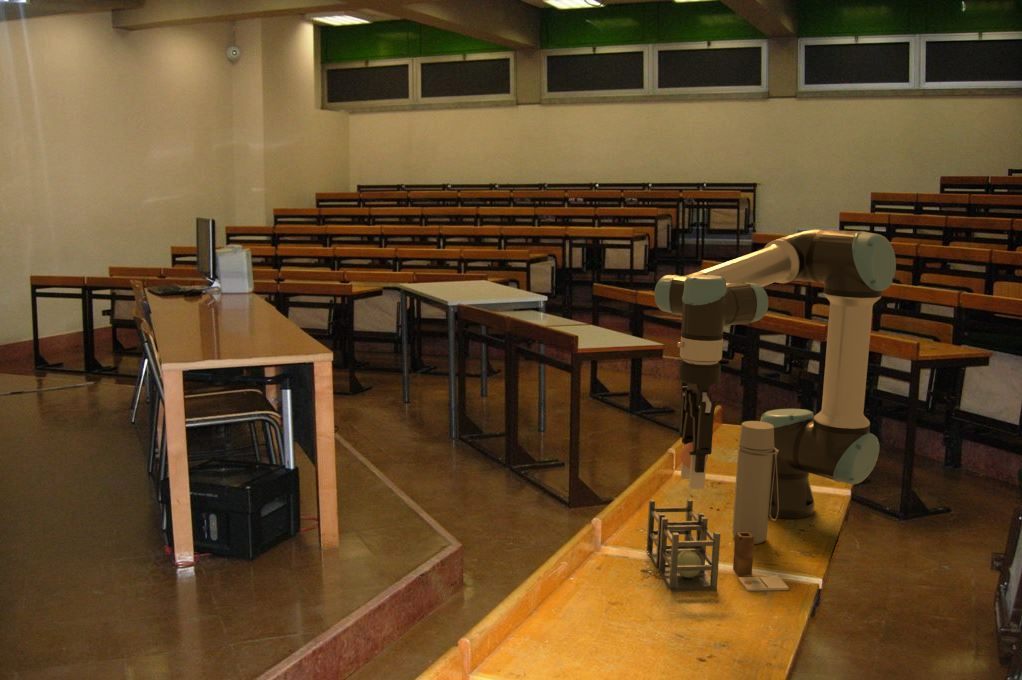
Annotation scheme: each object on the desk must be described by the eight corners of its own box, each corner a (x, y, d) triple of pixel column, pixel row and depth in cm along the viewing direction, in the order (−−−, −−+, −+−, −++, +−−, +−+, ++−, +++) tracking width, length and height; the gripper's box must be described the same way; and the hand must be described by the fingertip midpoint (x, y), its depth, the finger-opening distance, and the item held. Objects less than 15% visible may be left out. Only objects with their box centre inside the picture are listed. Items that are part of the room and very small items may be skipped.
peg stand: (746, 568, 192) (749, 531, 190) (751, 574, 189) (754, 537, 188) (732, 568, 192) (735, 532, 190) (737, 574, 189) (740, 537, 187)
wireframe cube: (688, 550, 200) (691, 499, 198) (701, 567, 192) (704, 514, 190) (646, 551, 199) (649, 499, 197) (657, 568, 191) (660, 515, 189)
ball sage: (696, 570, 188) (697, 546, 187) (704, 581, 183) (705, 556, 182) (671, 571, 188) (672, 546, 187) (678, 582, 183) (679, 557, 182)
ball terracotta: (702, 464, 184) (703, 438, 183) (710, 472, 179) (712, 446, 179) (676, 464, 184) (677, 438, 183) (683, 472, 179) (685, 446, 178)
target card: (778, 578, 188) (778, 576, 187) (788, 589, 183) (788, 587, 183) (738, 579, 187) (738, 576, 187) (747, 590, 182) (747, 588, 182)
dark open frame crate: (702, 570, 190) (706, 516, 188) (716, 589, 182) (720, 533, 180) (658, 571, 190) (661, 517, 188) (670, 590, 181) (673, 534, 179)
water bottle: (729, 542, 205) (736, 427, 200) (734, 530, 212) (741, 418, 208) (774, 549, 202) (783, 432, 197) (777, 536, 209) (786, 423, 204)
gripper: (667, 351, 186) (660, 468, 190) (694, 370, 169) (686, 499, 173) (705, 351, 187) (698, 468, 191) (736, 370, 170) (727, 499, 174)
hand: (692, 482), depth 182 cm, fingers closed on ball terracotta, 5 cm apart
